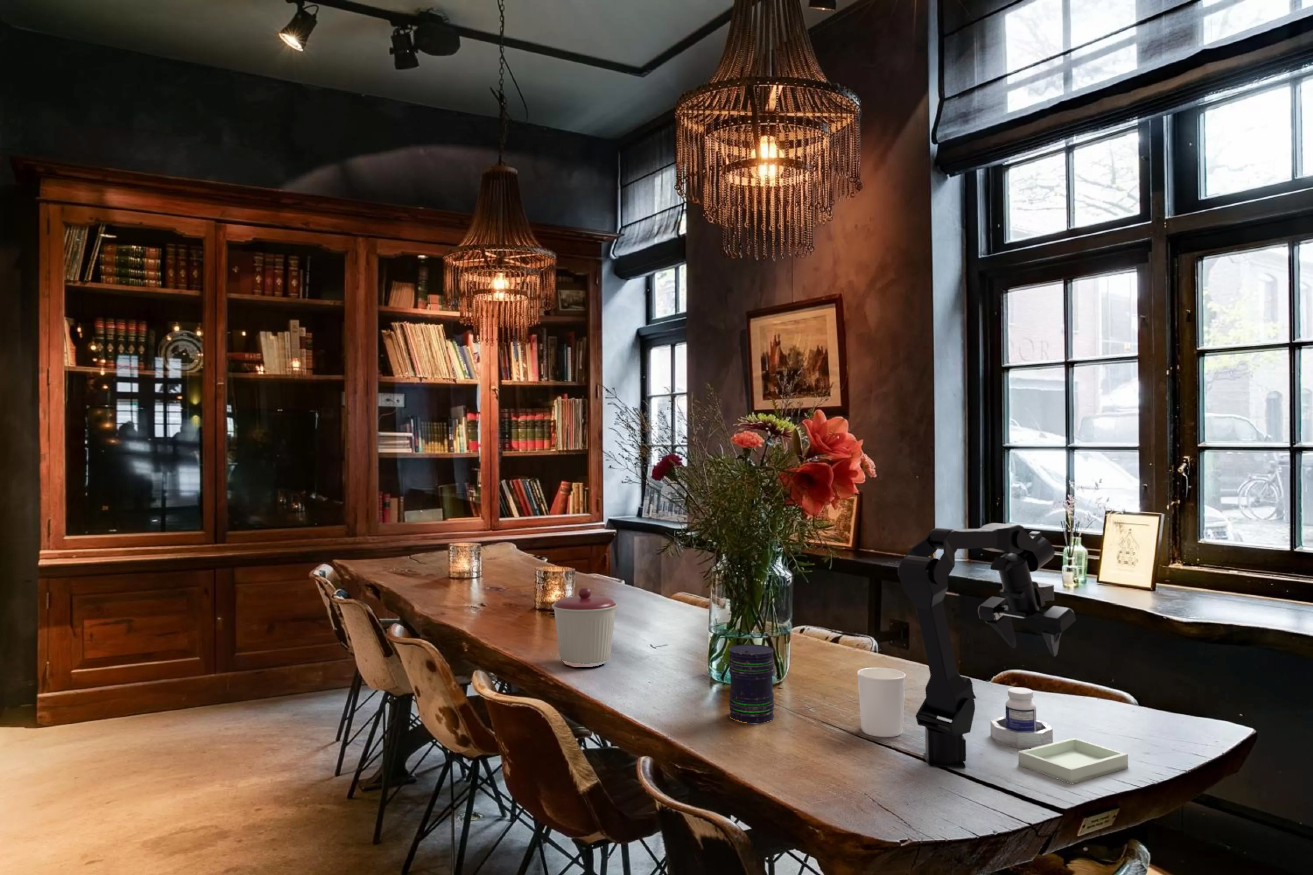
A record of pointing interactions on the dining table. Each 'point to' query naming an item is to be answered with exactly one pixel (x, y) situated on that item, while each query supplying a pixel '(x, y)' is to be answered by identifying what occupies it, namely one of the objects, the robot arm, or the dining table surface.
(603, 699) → the dining table surface
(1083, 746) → the sage tray
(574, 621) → the canister
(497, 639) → the dining table surface
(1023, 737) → the steel collar
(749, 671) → the storage jar
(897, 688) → the candle holder
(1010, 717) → the pill bottle
